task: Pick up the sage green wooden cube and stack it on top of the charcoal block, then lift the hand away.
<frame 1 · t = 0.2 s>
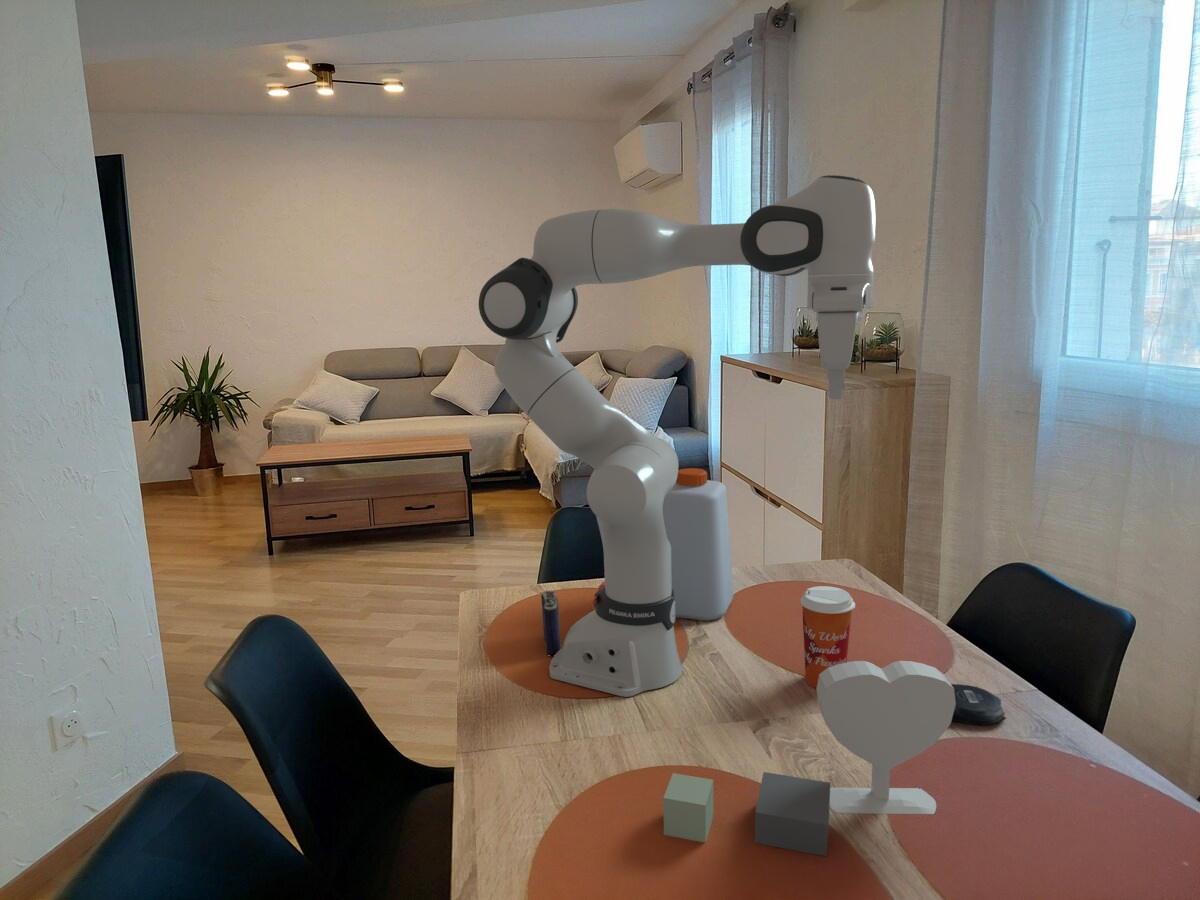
hand: (836, 393, 114), 48 cm above the table, tool pointing down, fingers open, 8 cm apart
black rounded flattened block: (948, 712, 119), on the table
grey-blue container: (692, 606, 160), on the table
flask: (552, 646, 144), on the table
heart sculpture: (879, 801, 99), on the table
charcoal block: (793, 826, 94), on the table
green cube: (689, 825, 95), on the table
coffee cup: (825, 682, 128), on the table
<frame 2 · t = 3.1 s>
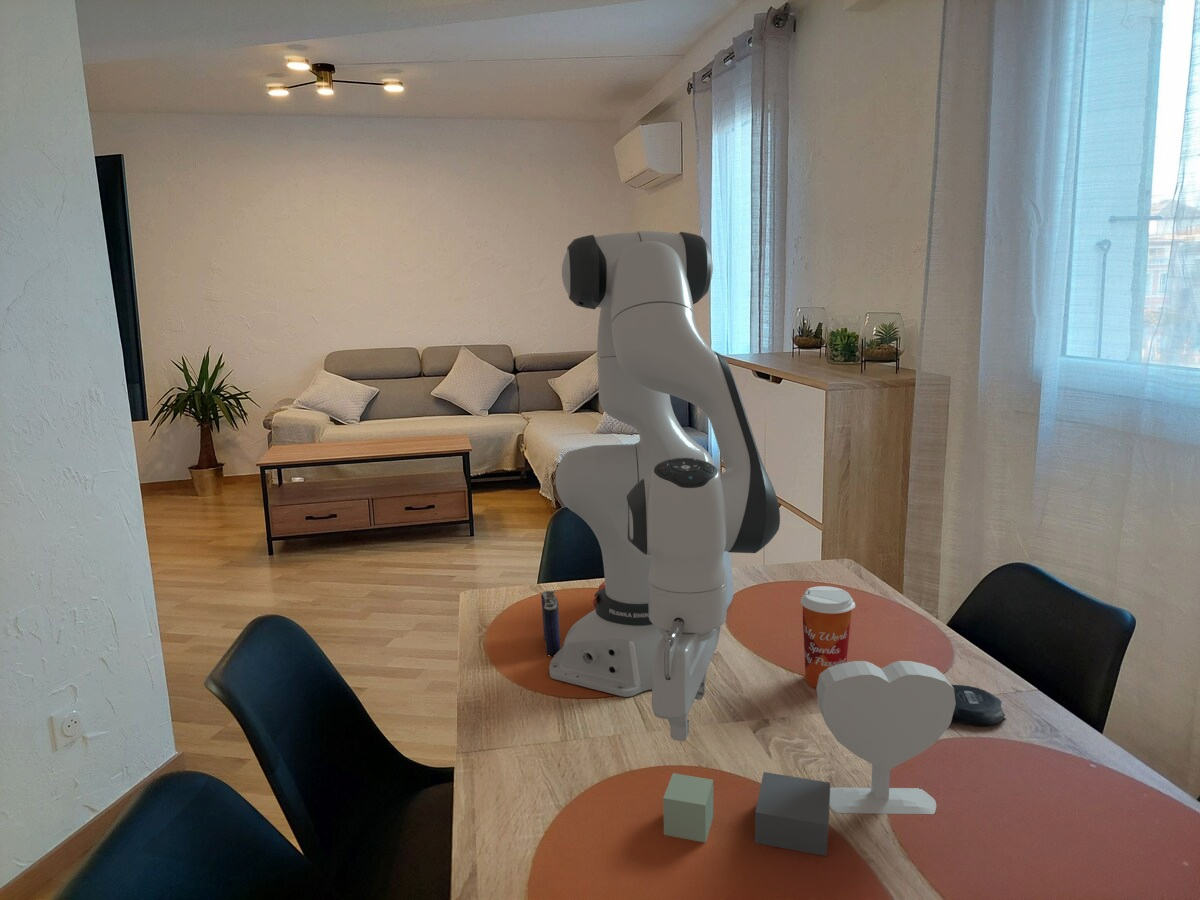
hand: (688, 716, 92), 15 cm above the table, tool pointing down, fingers open, 8 cm apart
nothing on the table moved.
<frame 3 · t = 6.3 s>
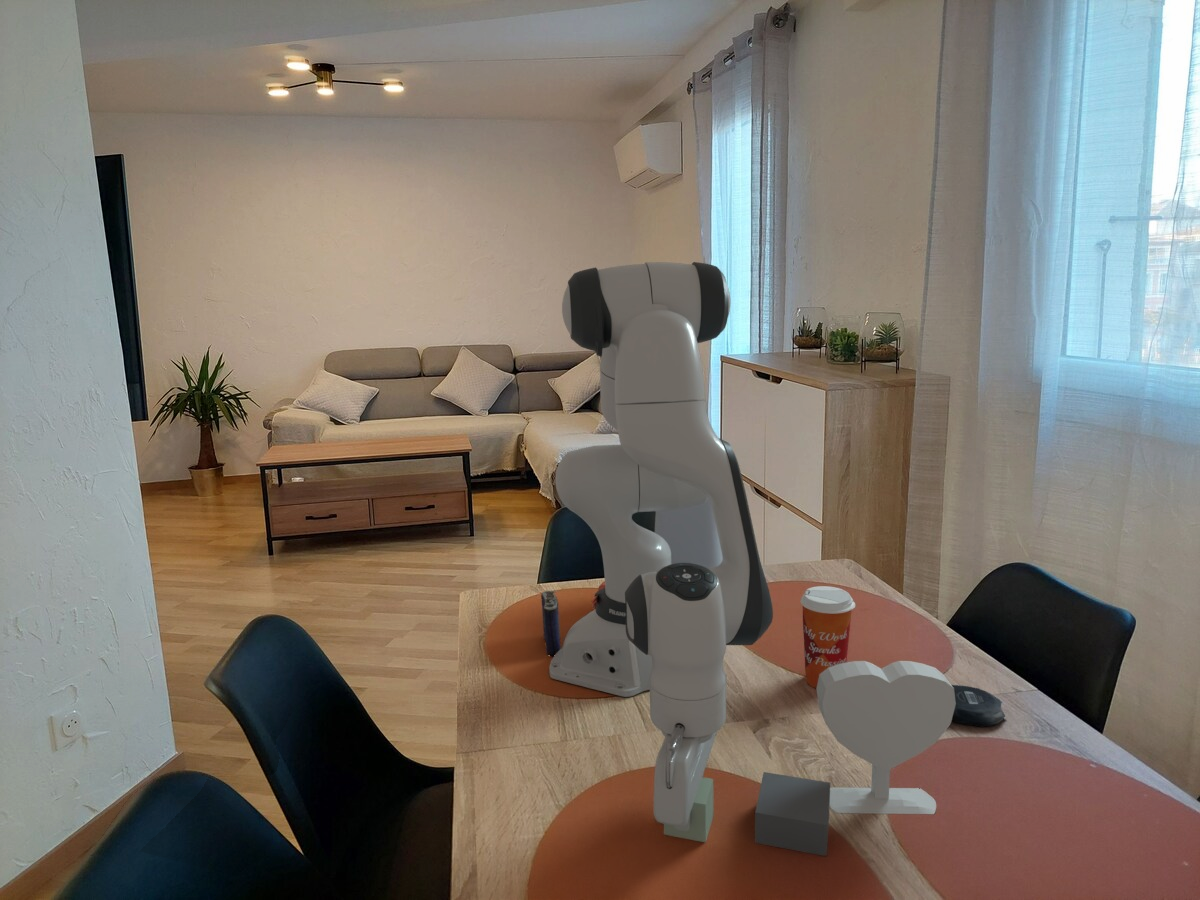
hand: (688, 809, 95), 2 cm above the table, tool pointing down, fingers closed on green cube, 5 cm apart
green cube: (689, 824, 95), on the table, touching gripper
everything else where it was.
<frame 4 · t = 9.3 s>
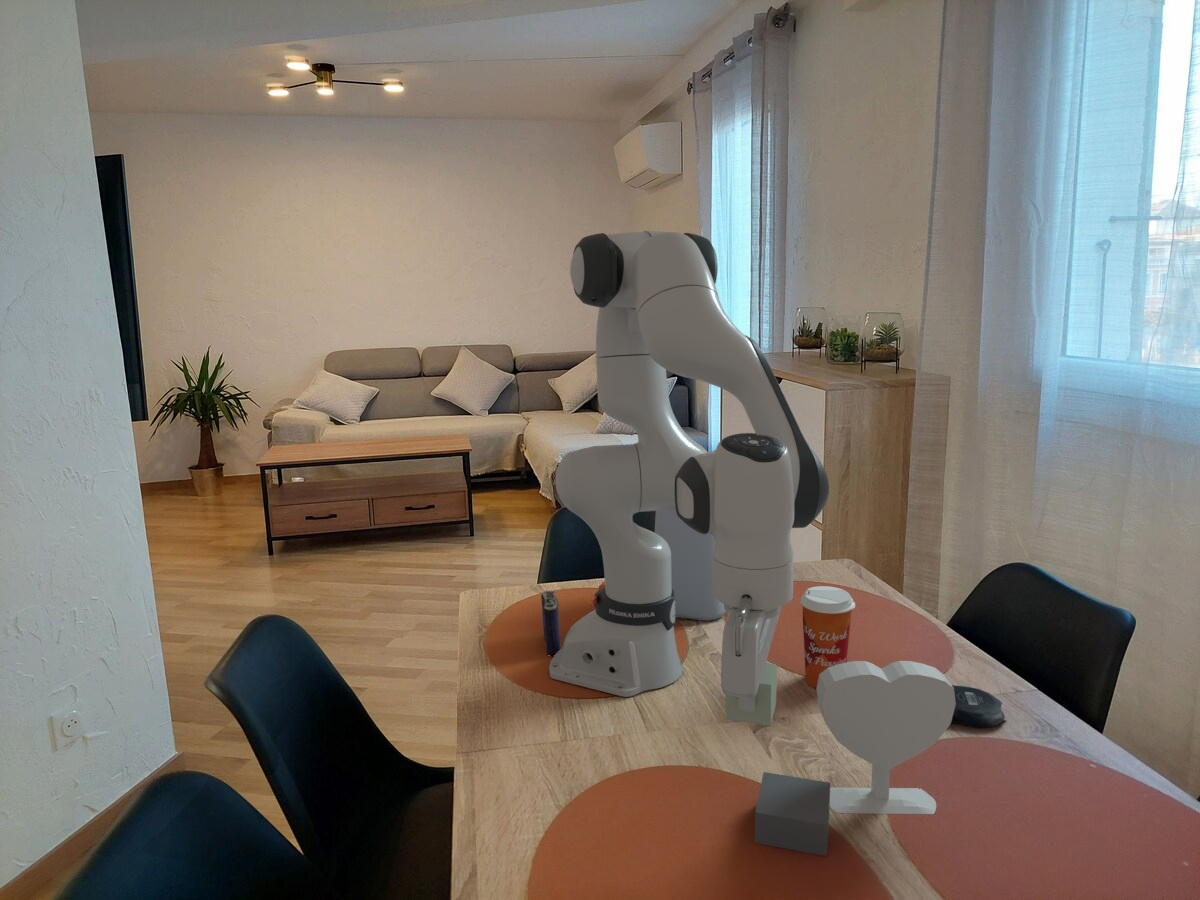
hand: (751, 694, 91), 17 cm above the table, tool pointing down, fingers closed on green cube, 5 cm apart
green cube: (751, 711, 91), point 15 cm above the table, touching gripper
everything else where it was.
when the fingers open (7 cm above the table, at t = 12.5 s): green cube stays where it is, resting on charcoal block.
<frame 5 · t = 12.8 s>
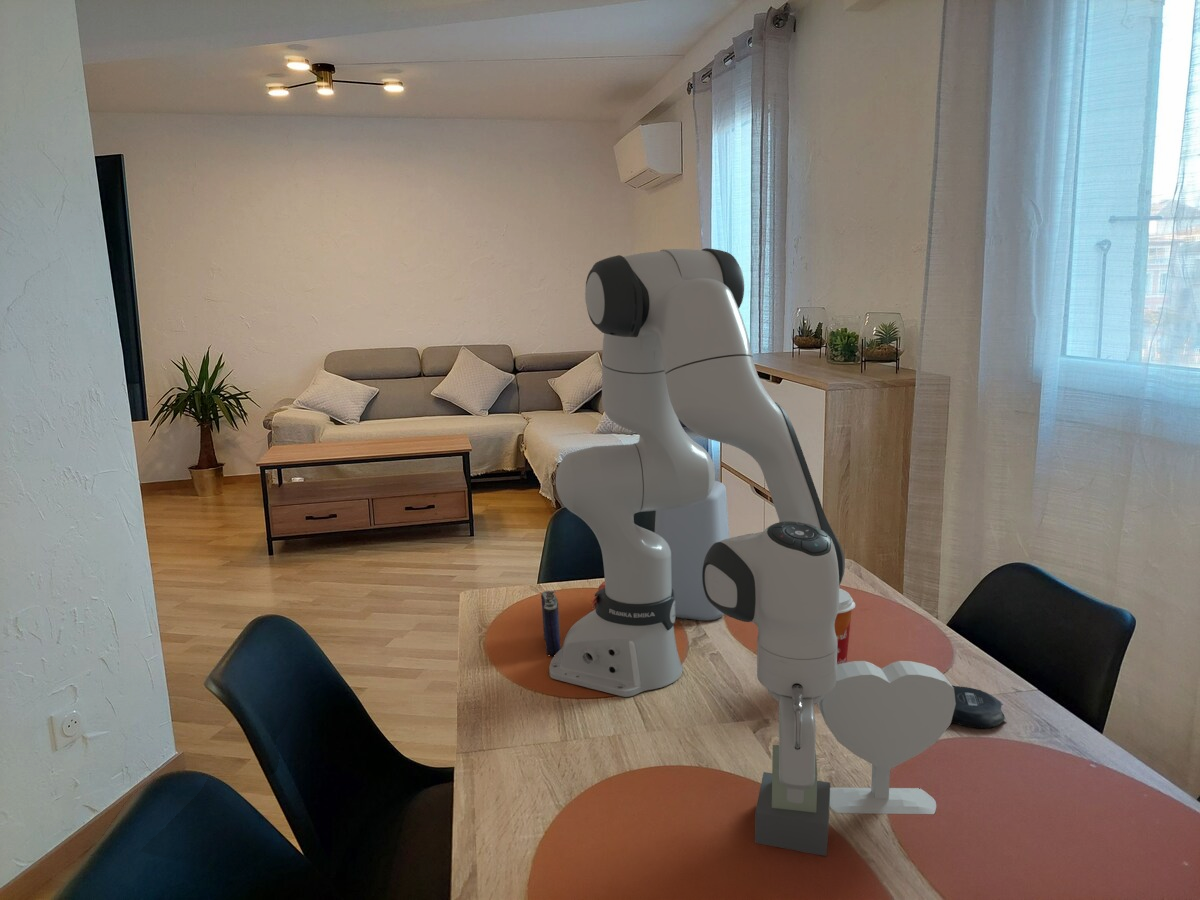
hand: (794, 773, 93), 7 cm above the table, tool pointing down, fingers open, 8 cm apart
green cube: (793, 796, 93), point 4 cm above the table, touching charcoal block
everything else where it was.
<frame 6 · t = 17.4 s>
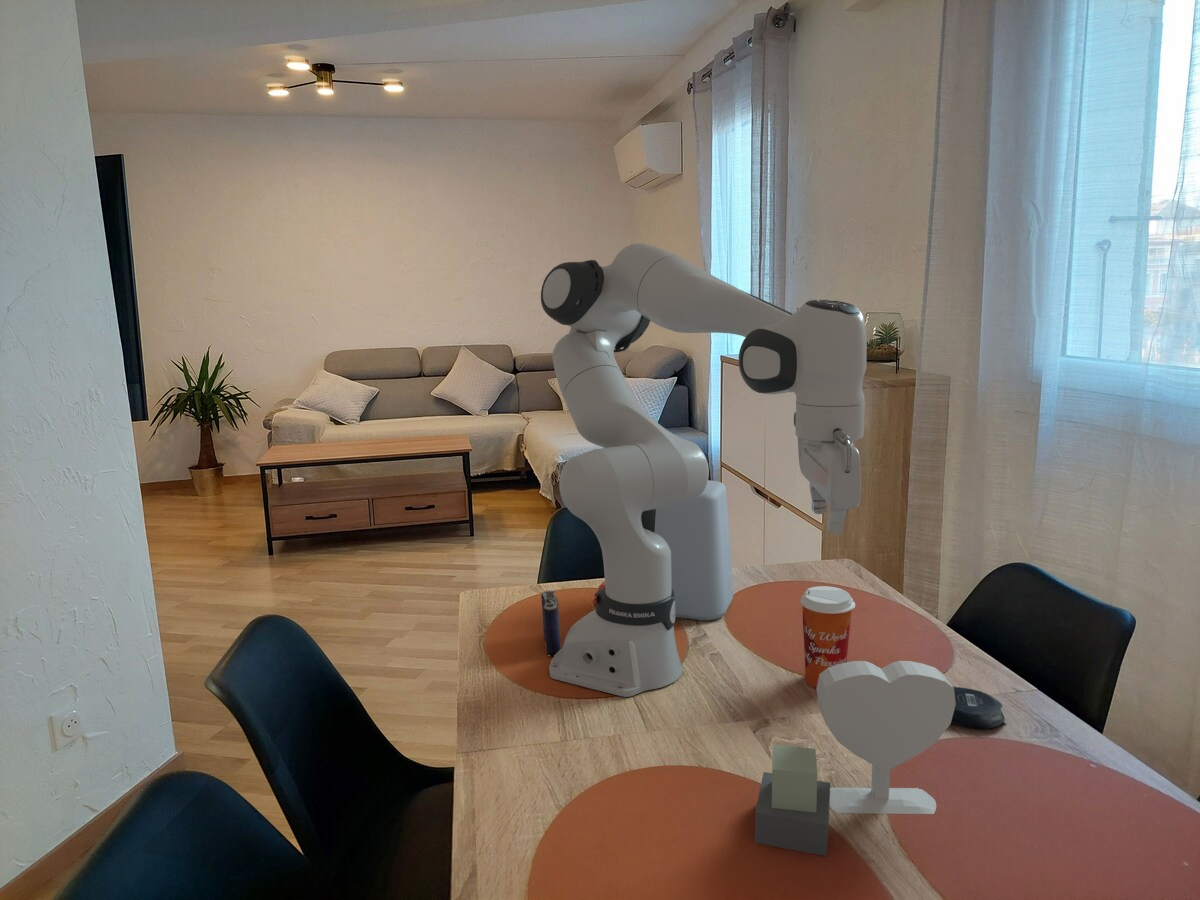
hand: (826, 522, 108), 31 cm above the table, tool pointing down, fingers open, 8 cm apart
nothing on the table moved.
at the end: green cube 0.1 cm off-centre on the charcoal block, point 4.0 cm above the charcoal block's base; green cube tilted 0°; the gripper is holding nothing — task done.
